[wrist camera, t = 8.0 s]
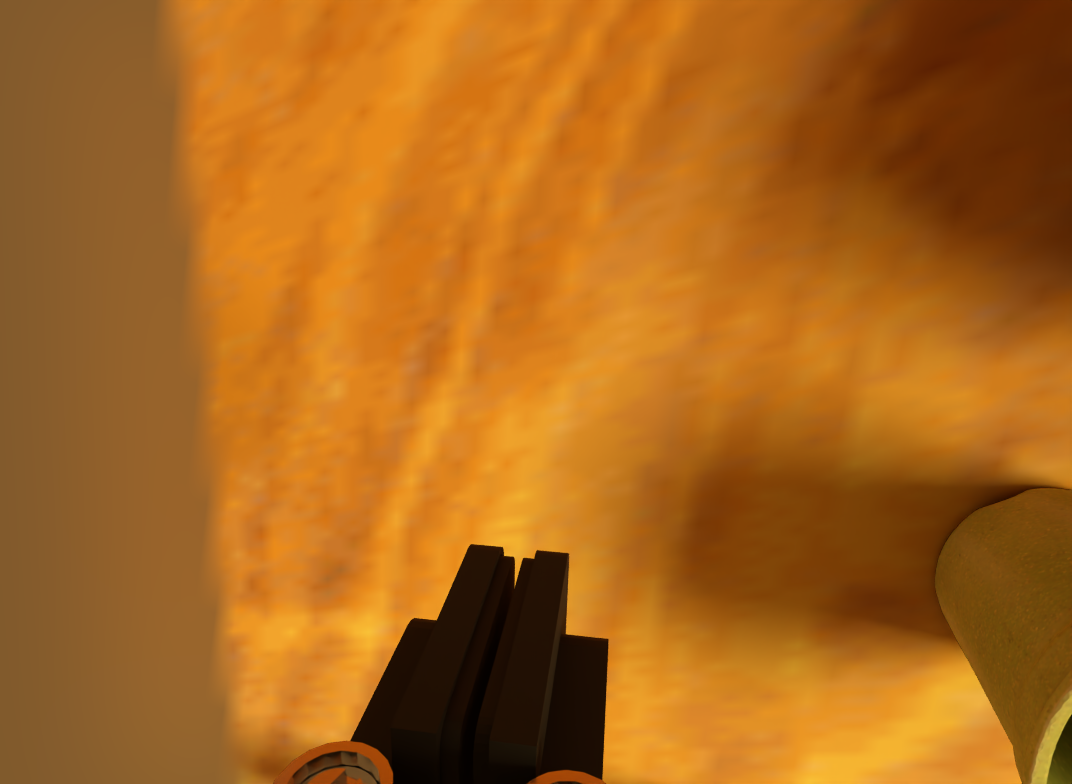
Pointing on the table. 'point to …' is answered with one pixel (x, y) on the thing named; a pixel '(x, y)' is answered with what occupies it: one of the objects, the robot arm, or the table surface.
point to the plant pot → (1018, 621)
